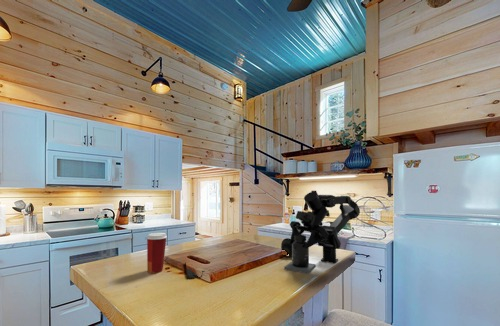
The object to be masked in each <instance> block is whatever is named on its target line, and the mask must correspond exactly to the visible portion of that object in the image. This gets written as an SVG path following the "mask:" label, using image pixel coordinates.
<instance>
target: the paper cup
mask: <svg viewBox="0 0 500 326" xmlns="http://www.w3.org/2000/svg"><path fill="white" fill-rule="evenodd" d="M145 238H146V240H147V241H146V244H147V245H146V249H147V250H146V253H147V254H146V256H147V257H146V258H147V261H146V262H147V263H146V264H147V265H146V266H147V268H146V269H147V273H148V274H158V273H162V272H163V270H164V263H165V256H166V255H165V253H166V243H167V238H168V236H167V233H165V232H152V233H148V234H147V236H146V237H145Z"/></svg>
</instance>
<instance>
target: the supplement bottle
mask: <svg viewBox="0 0 500 326" xmlns="http://www.w3.org/2000/svg"><path fill="white" fill-rule="evenodd" d="M294 240H295V241H294V242H293V243H292V256H291V262H292V264H293V266H296V267H308V266H309V263H310V257H309V256H310V250H309V248H310V247H309V248H307V249H305V247H304V246H305V244H306V242H307V235H306V234H301V235H295V236H294Z"/></svg>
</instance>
